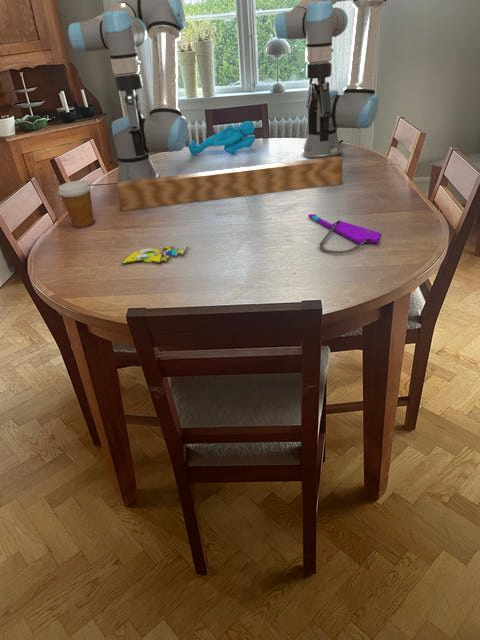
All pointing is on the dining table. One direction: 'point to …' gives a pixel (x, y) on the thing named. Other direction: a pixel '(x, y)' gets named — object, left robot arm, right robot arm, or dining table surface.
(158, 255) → the toy
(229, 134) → the toy
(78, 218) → the disposable coffee cup
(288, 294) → the dining table surface
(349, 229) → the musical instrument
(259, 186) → the beam
